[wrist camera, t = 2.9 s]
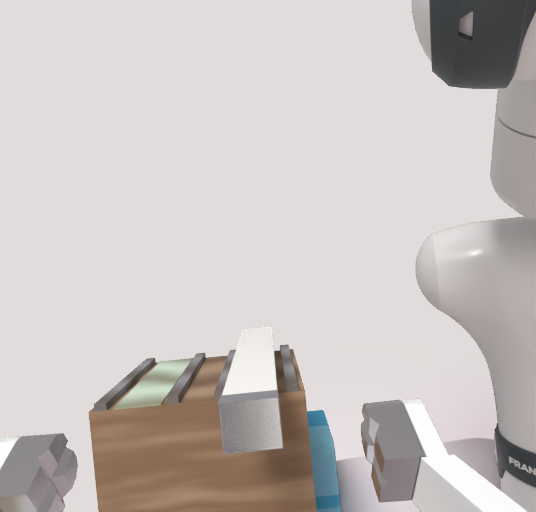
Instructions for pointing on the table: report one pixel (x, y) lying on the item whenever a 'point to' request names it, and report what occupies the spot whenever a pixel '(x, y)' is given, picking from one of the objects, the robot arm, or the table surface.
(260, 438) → the bar
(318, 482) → the blue box
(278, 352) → the slot shelf
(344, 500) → the table surface
